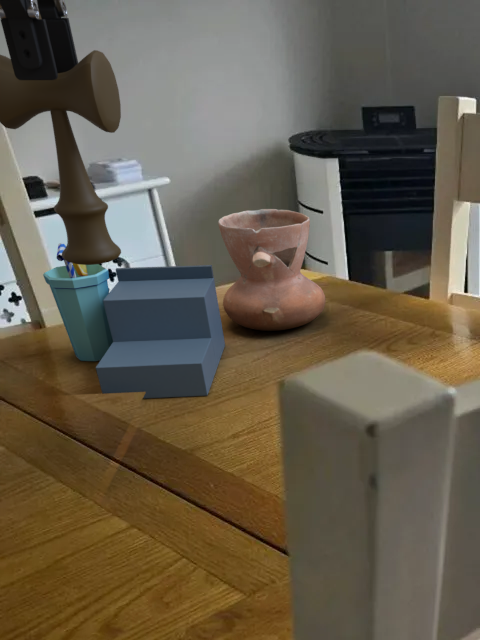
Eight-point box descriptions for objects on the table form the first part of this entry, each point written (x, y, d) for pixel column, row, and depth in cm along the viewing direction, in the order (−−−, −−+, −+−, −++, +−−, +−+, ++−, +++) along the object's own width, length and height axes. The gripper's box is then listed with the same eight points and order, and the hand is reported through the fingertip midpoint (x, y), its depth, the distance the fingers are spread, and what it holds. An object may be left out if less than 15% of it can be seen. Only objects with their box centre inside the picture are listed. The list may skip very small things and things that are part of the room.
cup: (123, 372, 104) (93, 246, 96) (58, 378, 103) (21, 251, 94) (130, 337, 115) (103, 222, 107) (71, 342, 114) (39, 225, 105)
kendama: (135, 270, 75) (79, -1, 64) (29, 269, 75) (-47, -2, 64) (154, 254, 80) (104, -1, 68) (54, 253, 80) (-12, -1, 68)
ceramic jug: (324, 340, 114) (313, 230, 105) (218, 343, 113) (198, 232, 105) (330, 302, 128) (321, 202, 120) (236, 305, 128) (221, 204, 119)
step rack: (104, 400, 97) (79, 310, 91) (135, 349, 112) (116, 267, 105) (207, 395, 98) (190, 305, 92) (225, 345, 113) (211, 264, 106)
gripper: (-31, -202, 65) (35, 70, 76) (-137, -257, 51) (-37, 85, 62) (66, -200, 66) (119, 69, 76) (-11, -254, 52) (66, 85, 62)
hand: (49, 74), depth 69 cm, fingers closed on kendama, 5 cm apart
